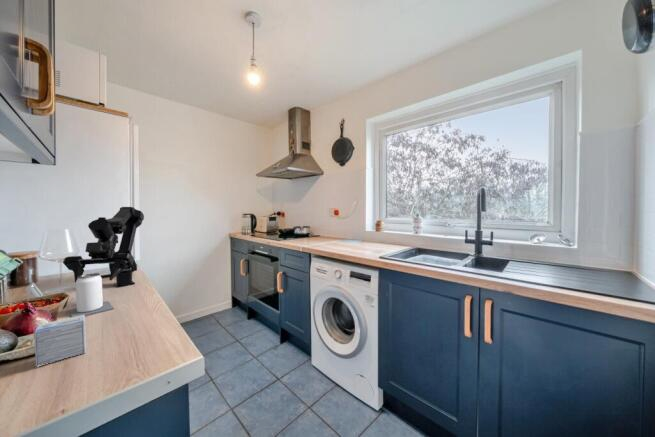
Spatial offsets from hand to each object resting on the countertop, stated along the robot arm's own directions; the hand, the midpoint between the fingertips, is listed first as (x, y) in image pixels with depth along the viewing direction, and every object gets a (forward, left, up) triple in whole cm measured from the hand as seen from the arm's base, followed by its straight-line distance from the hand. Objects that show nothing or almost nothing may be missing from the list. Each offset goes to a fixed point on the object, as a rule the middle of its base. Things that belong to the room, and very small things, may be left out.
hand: (93, 281), depth 84 cm
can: (+1, -1, -9) cm, 10 cm away
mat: (+2, -1, -10) cm, 10 cm away
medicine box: (+33, -9, -10) cm, 36 cm away
